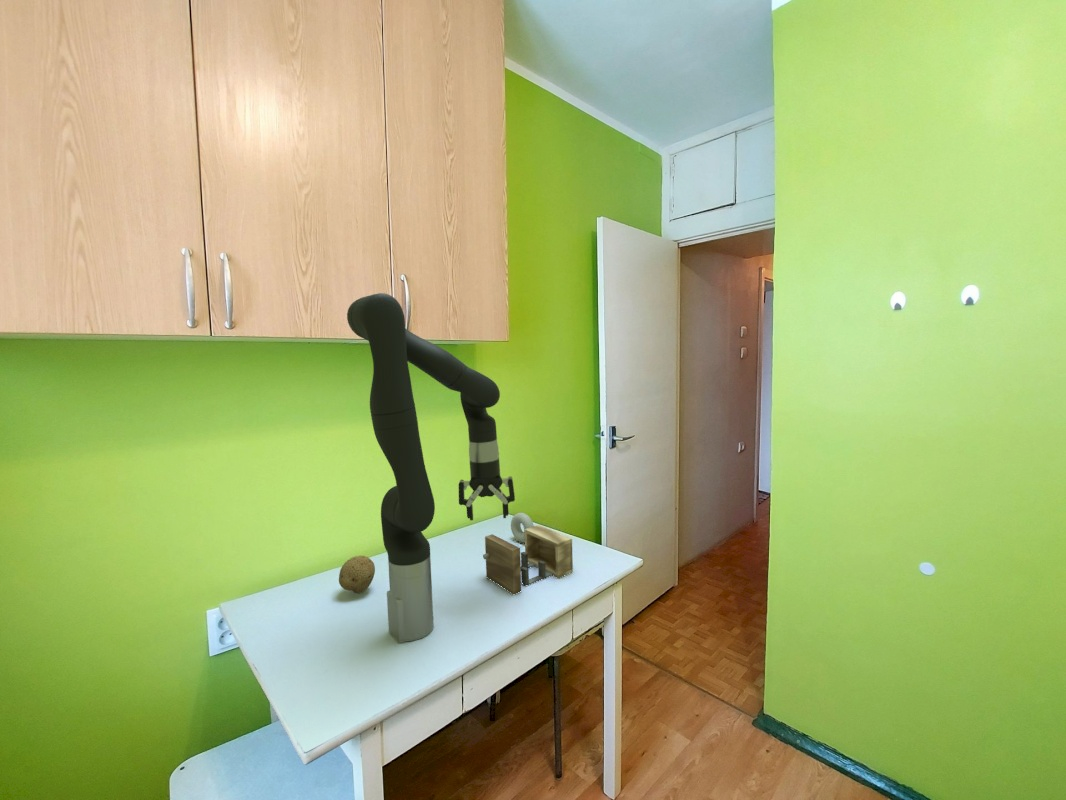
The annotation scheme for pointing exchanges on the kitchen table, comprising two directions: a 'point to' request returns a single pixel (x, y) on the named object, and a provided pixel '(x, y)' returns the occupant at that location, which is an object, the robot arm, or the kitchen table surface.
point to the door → (503, 563)
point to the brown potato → (357, 574)
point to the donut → (516, 525)
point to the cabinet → (546, 554)
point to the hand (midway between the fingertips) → (488, 518)
